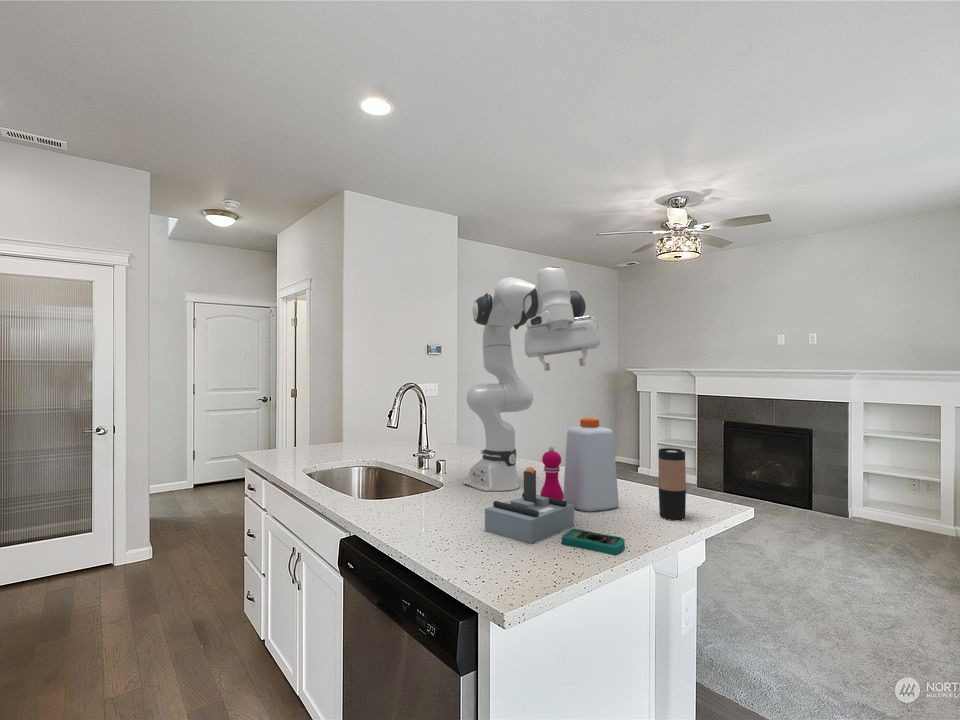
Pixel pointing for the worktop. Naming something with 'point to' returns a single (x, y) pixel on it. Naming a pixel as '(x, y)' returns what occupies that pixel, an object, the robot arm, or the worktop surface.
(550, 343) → the robot arm
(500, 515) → the box
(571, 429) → the plastic bottle
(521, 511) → the dark parallel rails
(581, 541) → the digital multimeter
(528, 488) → the breaker lever
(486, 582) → the worktop surface
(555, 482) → the pepper mill
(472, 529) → the worktop surface
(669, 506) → the travel mug
